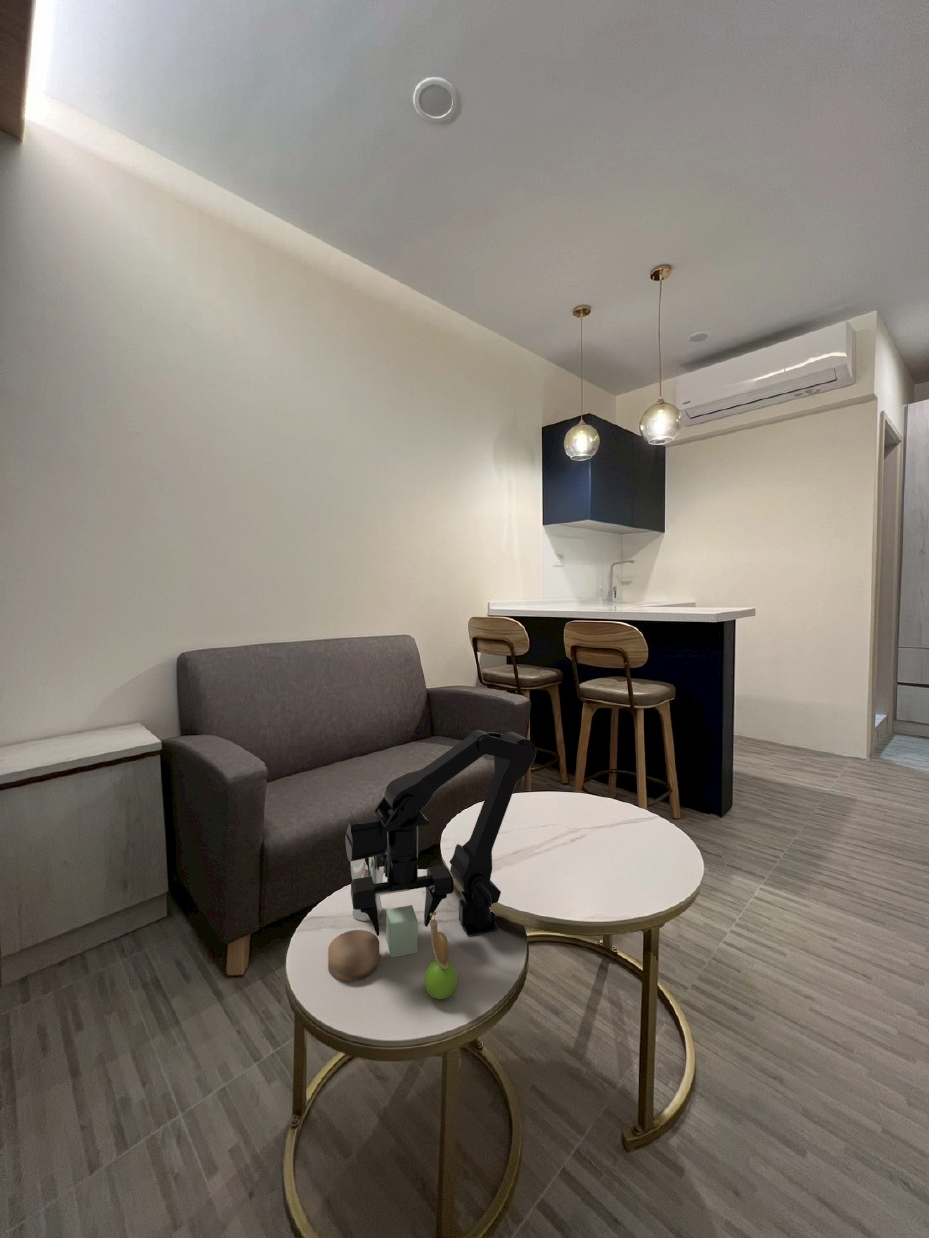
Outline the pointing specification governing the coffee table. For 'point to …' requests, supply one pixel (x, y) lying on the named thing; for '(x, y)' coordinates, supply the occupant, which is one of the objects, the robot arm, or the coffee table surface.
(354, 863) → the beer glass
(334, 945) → the walnut base
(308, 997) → the coffee table surface
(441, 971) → the snail figurine
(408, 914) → the sage block
